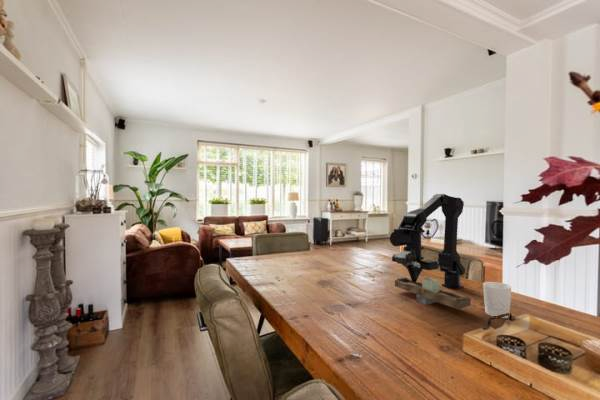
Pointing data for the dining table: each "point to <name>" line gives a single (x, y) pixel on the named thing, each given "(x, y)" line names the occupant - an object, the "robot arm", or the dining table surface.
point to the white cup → (497, 298)
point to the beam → (433, 294)
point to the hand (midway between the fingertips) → (414, 282)
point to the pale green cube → (430, 284)
